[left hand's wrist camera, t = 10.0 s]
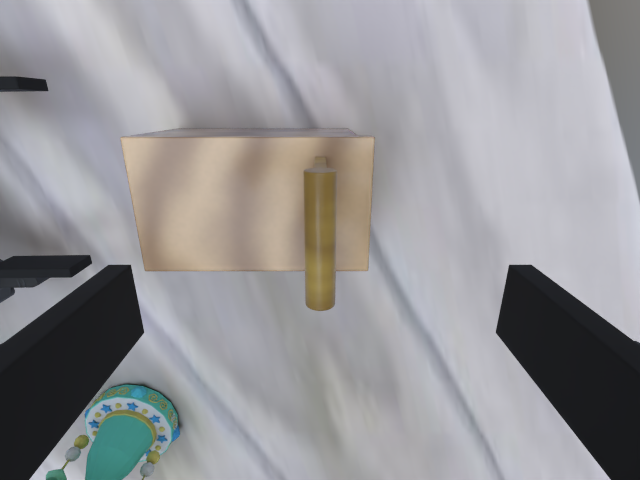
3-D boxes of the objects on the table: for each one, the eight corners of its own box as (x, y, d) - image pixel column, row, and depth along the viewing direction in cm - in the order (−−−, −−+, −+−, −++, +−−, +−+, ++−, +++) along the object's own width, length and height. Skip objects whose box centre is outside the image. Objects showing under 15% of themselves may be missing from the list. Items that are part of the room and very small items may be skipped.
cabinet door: (372, 135, 24) (398, 149, 16) (366, 264, 27) (385, 328, 19) (128, 135, 24) (36, 149, 16) (151, 265, 27) (83, 328, 19)
